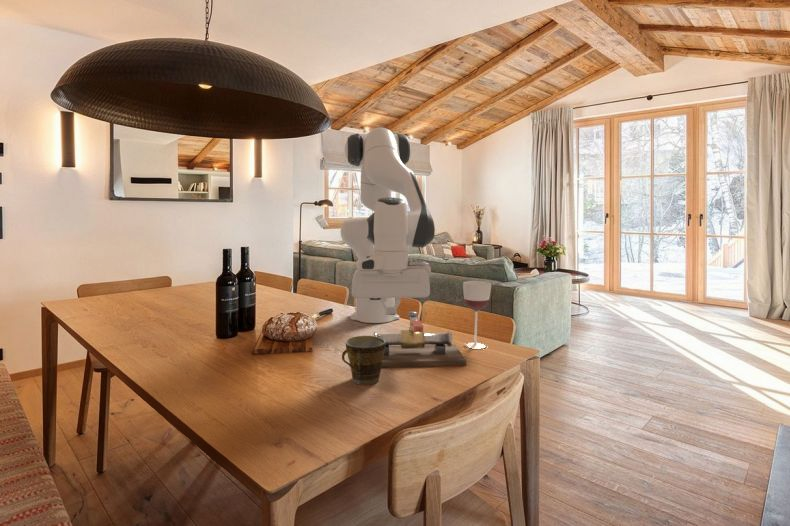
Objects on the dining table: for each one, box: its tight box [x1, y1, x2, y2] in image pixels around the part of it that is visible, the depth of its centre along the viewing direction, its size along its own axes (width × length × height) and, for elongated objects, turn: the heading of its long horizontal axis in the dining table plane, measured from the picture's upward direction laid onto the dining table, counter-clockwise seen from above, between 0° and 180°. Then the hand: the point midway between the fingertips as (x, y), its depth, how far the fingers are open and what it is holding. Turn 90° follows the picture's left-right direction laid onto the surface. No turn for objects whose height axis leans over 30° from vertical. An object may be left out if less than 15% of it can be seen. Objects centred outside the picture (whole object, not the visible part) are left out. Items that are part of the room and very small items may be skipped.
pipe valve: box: [373, 326, 453, 356], centre depth 130 cm, size 5×22×8 cm, turn 95°
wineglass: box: [462, 280, 492, 350], centre depth 141 cm, size 8×9×20 cm
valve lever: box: [407, 310, 424, 332], centre depth 123 cm, size 14×3×4 cm, turn 5°
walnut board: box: [381, 344, 467, 368], centre depth 131 cm, size 14×28×2 cm, turn 95°
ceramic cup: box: [341, 335, 386, 386], centre depth 112 cm, size 13×10×10 cm
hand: (390, 314), depth 118 cm, fingers closed
